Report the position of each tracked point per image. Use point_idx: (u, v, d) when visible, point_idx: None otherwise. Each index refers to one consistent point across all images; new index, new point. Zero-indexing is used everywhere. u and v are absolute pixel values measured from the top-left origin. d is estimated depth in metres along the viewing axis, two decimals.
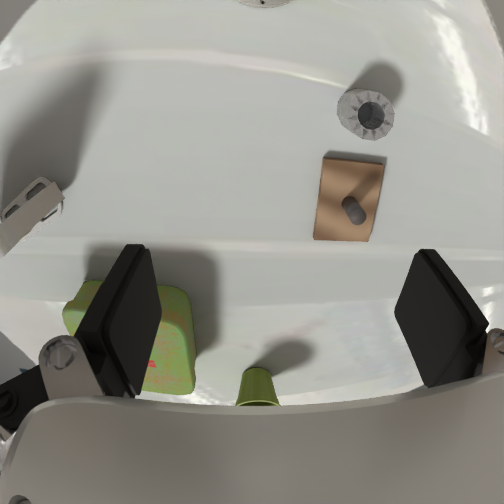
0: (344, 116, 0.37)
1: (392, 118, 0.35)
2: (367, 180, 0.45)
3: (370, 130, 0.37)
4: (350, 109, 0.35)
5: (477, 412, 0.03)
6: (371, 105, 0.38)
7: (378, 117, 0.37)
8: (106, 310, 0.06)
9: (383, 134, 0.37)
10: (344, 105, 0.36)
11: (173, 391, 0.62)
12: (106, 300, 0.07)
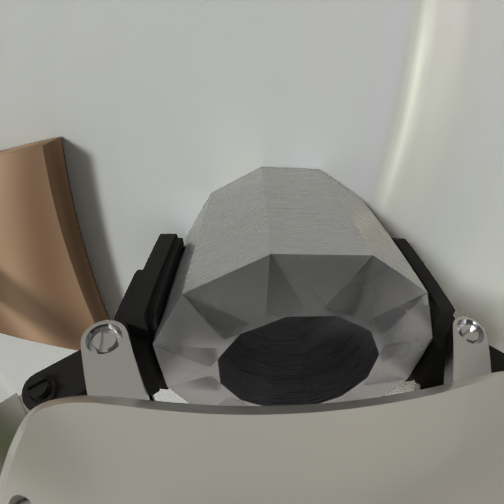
0: (274, 223, 0.06)
1: None
2: (45, 312, 0.11)
3: (214, 373, 0.07)
4: (342, 272, 0.05)
5: (477, 412, 0.03)
6: None
7: (277, 356, 0.10)
8: (150, 294, 0.07)
9: None
10: (341, 215, 0.07)
11: None
12: (148, 285, 0.07)
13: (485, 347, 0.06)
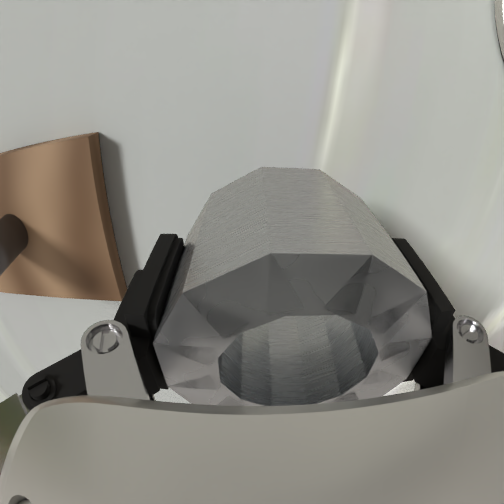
0: (274, 222, 0.06)
1: None
2: (73, 266, 0.16)
3: (214, 372, 0.07)
4: (341, 271, 0.05)
5: (477, 412, 0.03)
6: None
7: (277, 355, 0.10)
8: (151, 294, 0.07)
9: None
10: (341, 214, 0.07)
11: None
12: (149, 285, 0.07)
13: (485, 347, 0.06)
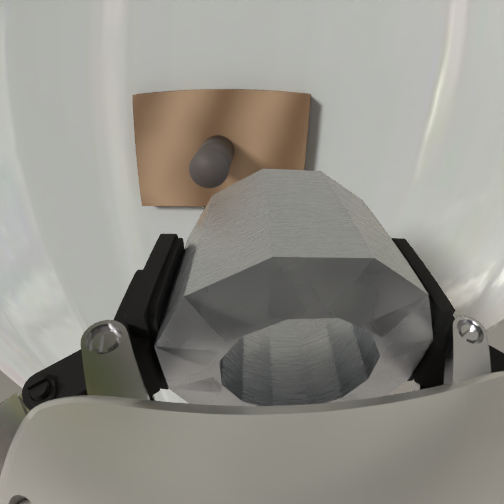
0: (276, 225, 0.06)
1: None
2: None
3: (215, 375, 0.07)
4: (344, 274, 0.05)
5: (477, 412, 0.03)
6: None
7: (278, 357, 0.10)
8: (151, 295, 0.07)
9: None
10: (343, 217, 0.07)
11: None
12: (149, 285, 0.07)
13: (485, 347, 0.06)
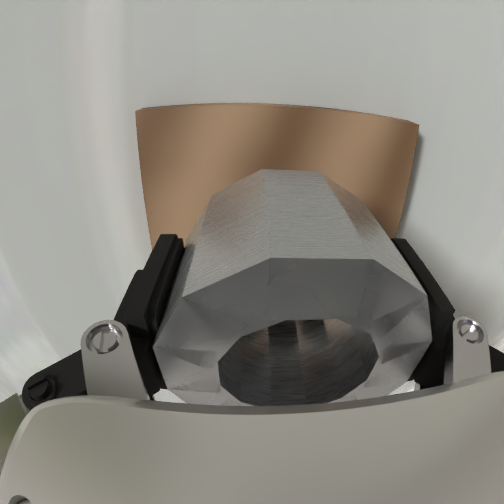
0: (274, 226, 0.06)
1: None
2: None
3: (214, 375, 0.07)
4: (342, 276, 0.05)
5: (477, 412, 0.03)
6: None
7: (277, 358, 0.10)
8: (151, 294, 0.07)
9: None
10: (341, 218, 0.07)
11: None
12: (149, 285, 0.07)
13: (485, 347, 0.06)
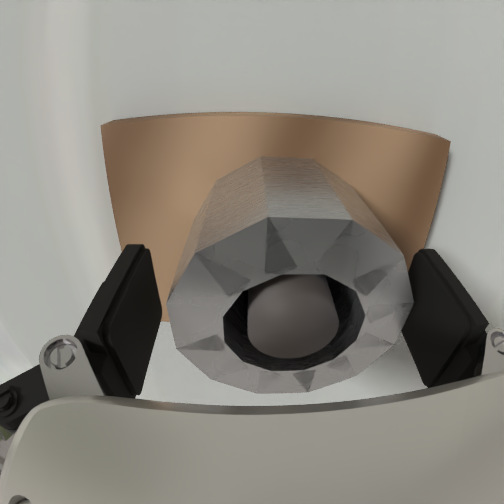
0: (271, 196, 0.07)
1: (287, 389, 0.10)
2: None
3: (219, 332, 0.08)
4: (327, 234, 0.07)
5: (477, 412, 0.03)
6: None
7: None
8: (106, 310, 0.06)
9: (214, 373, 0.09)
10: (328, 192, 0.08)
11: None
12: (106, 300, 0.07)
13: None
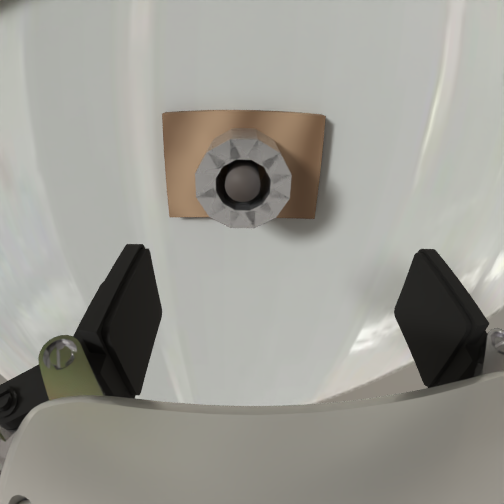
0: (233, 136, 0.21)
1: (244, 225, 0.24)
2: None
3: (214, 187, 0.22)
4: (249, 144, 0.20)
5: (477, 412, 0.03)
6: None
7: None
8: (106, 310, 0.06)
9: (211, 212, 0.23)
10: (254, 135, 0.21)
11: None
12: (106, 300, 0.07)
13: None
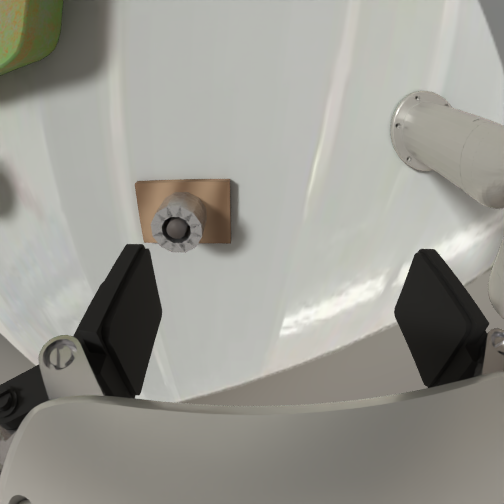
0: (169, 203, 0.39)
1: (179, 250, 0.42)
2: (211, 228, 0.45)
3: (161, 231, 0.40)
4: (176, 209, 0.38)
5: (477, 412, 0.03)
6: None
7: None
8: (106, 310, 0.06)
9: (161, 244, 0.41)
10: (181, 201, 0.39)
11: None
12: (106, 300, 0.07)
13: None
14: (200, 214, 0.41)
